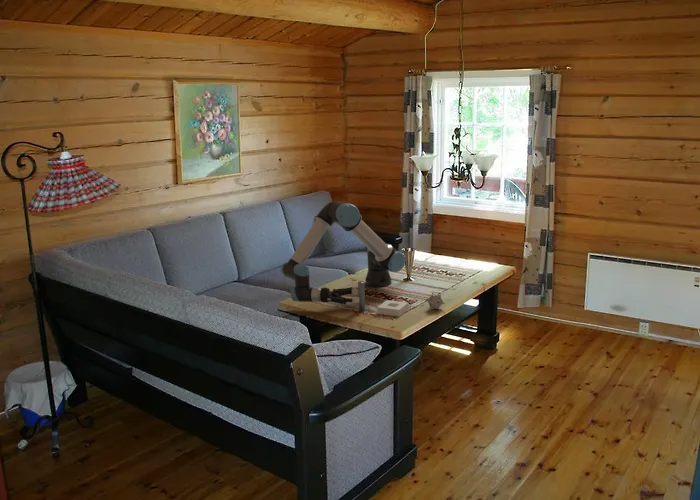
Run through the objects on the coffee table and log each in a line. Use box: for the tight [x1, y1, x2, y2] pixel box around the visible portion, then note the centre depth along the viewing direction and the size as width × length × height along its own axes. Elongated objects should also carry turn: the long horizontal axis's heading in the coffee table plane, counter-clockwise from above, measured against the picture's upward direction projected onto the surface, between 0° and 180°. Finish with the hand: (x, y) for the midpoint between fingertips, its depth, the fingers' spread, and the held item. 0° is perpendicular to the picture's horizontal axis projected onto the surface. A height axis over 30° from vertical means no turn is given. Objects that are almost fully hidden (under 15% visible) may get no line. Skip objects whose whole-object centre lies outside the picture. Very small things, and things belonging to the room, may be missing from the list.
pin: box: [357, 280, 366, 312], centre depth 345 cm, size 3×3×15 cm
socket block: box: [376, 300, 410, 317], centre depth 343 cm, size 12×12×4 cm
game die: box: [425, 292, 445, 311], centre depth 343 cm, size 9×8×10 cm
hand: (361, 295), depth 344 cm, fingers open, 13 cm apart
